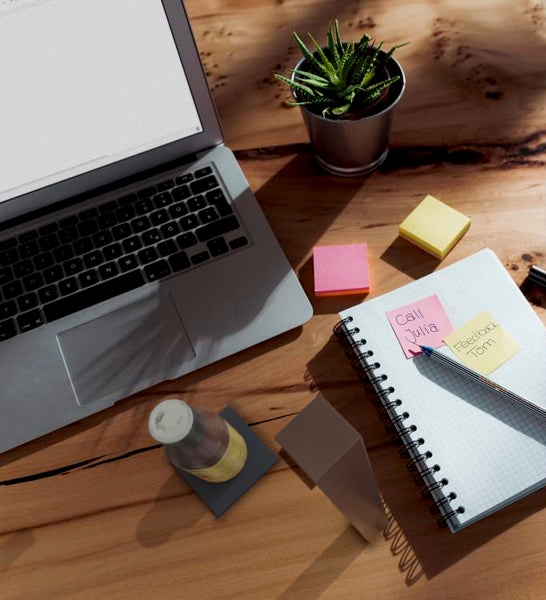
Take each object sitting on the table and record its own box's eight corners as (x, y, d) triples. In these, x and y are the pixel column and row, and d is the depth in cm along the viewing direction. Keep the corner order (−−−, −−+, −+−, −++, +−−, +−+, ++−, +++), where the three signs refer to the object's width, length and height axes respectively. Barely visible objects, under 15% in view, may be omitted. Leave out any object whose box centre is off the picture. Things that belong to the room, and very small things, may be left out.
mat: (219, 517, 74) (217, 517, 73) (170, 460, 77) (168, 459, 76) (279, 460, 76) (278, 459, 76) (230, 406, 79) (229, 405, 79)
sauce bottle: (185, 454, 76) (115, 412, 58) (229, 419, 78) (174, 367, 60) (218, 498, 74) (156, 469, 56) (262, 461, 76) (216, 421, 58)
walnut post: (370, 543, 73) (315, 482, 31) (351, 523, 74) (272, 437, 31) (389, 523, 74) (361, 436, 31) (370, 503, 74) (319, 393, 32)
